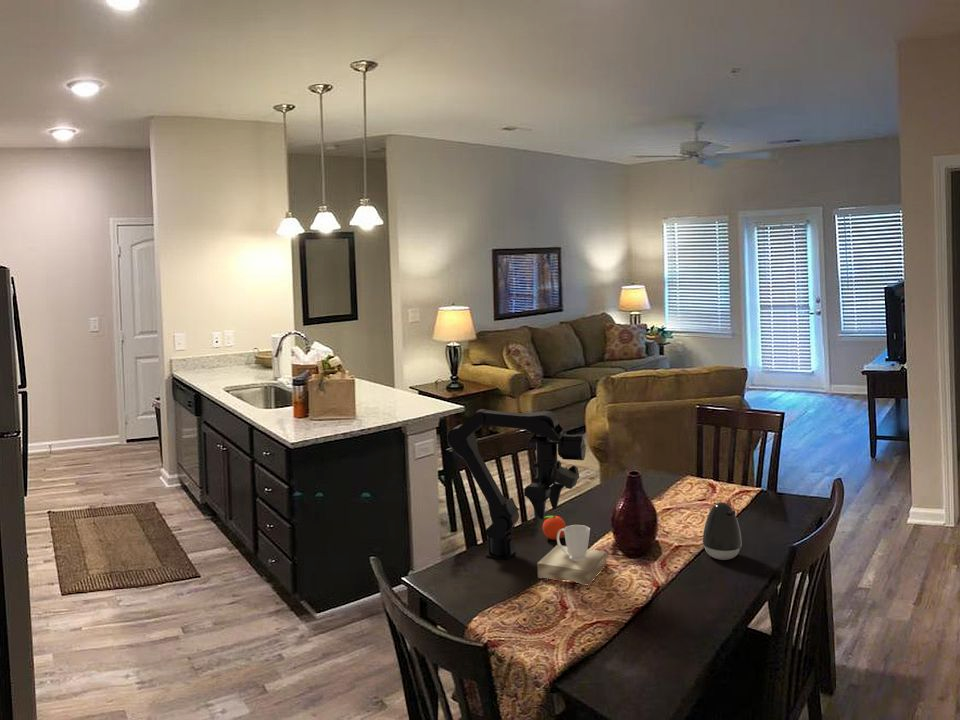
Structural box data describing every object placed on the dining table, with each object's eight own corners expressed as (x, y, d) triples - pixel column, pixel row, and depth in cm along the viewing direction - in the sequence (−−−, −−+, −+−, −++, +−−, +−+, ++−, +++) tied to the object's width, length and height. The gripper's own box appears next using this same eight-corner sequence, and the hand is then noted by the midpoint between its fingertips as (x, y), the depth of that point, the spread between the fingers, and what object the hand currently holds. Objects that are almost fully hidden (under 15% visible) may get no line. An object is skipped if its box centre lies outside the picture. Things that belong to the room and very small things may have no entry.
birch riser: (537, 577, 207) (537, 563, 206) (557, 558, 219) (557, 544, 219) (588, 586, 201) (588, 571, 200) (606, 566, 213) (606, 551, 212)
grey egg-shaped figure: (717, 566, 210) (718, 510, 208) (695, 552, 220) (695, 499, 218) (750, 560, 213) (750, 505, 211) (726, 547, 223) (726, 495, 221)
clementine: (536, 541, 233) (535, 518, 232) (543, 533, 240) (542, 510, 239) (562, 544, 230) (561, 520, 229) (569, 536, 236) (568, 513, 236)
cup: (580, 565, 204) (580, 535, 203) (549, 556, 210) (549, 527, 209) (596, 557, 209) (595, 527, 208) (565, 548, 216) (564, 520, 215)
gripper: (562, 469, 204) (563, 528, 206) (586, 452, 220) (587, 507, 222) (522, 465, 209) (524, 523, 211) (549, 449, 225) (550, 502, 227)
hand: (548, 513), depth 218 cm, fingers open, 9 cm apart
